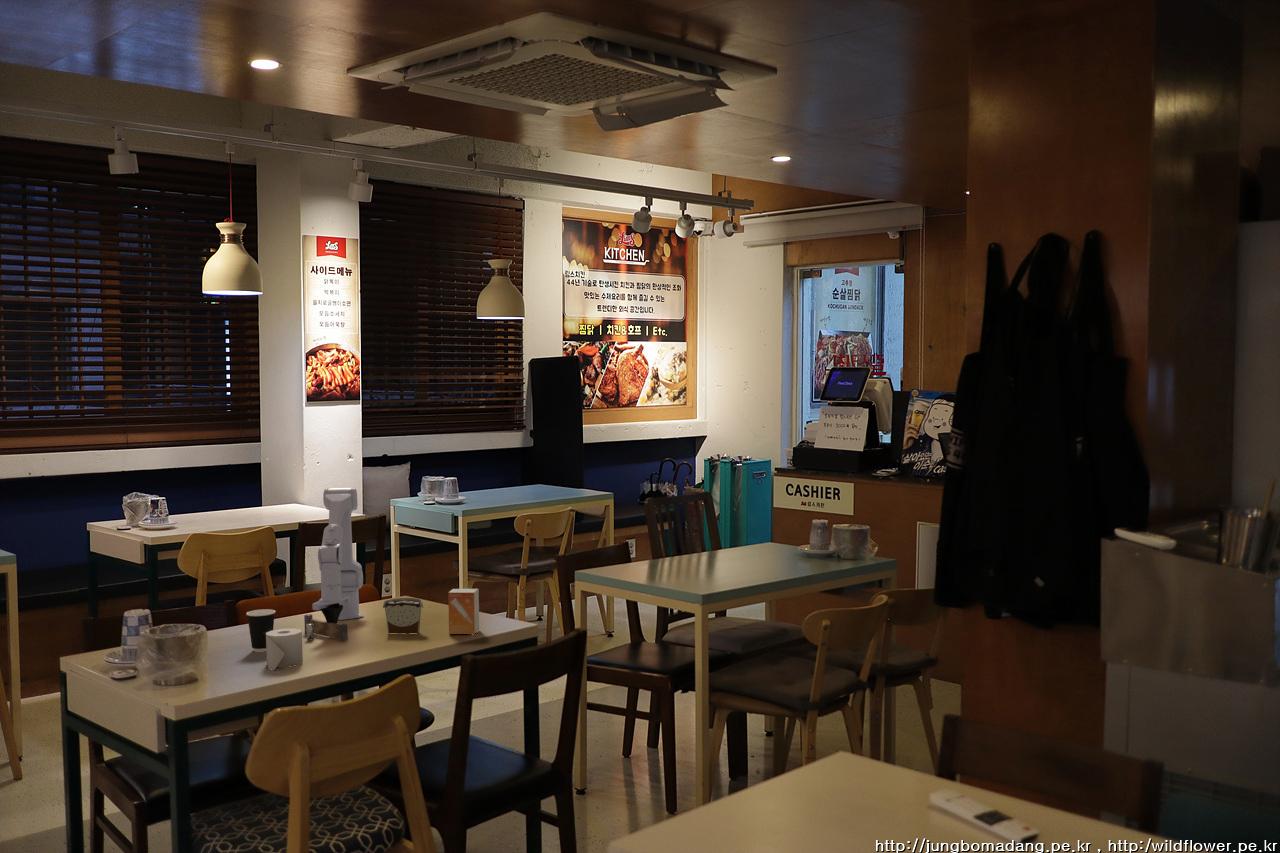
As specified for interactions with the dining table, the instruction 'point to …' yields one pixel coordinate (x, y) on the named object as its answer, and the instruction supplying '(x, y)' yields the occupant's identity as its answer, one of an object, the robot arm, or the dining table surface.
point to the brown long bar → (330, 629)
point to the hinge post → (307, 621)
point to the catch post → (310, 631)
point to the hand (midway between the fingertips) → (332, 629)
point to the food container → (403, 615)
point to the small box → (463, 611)
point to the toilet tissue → (284, 648)
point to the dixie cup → (260, 627)
